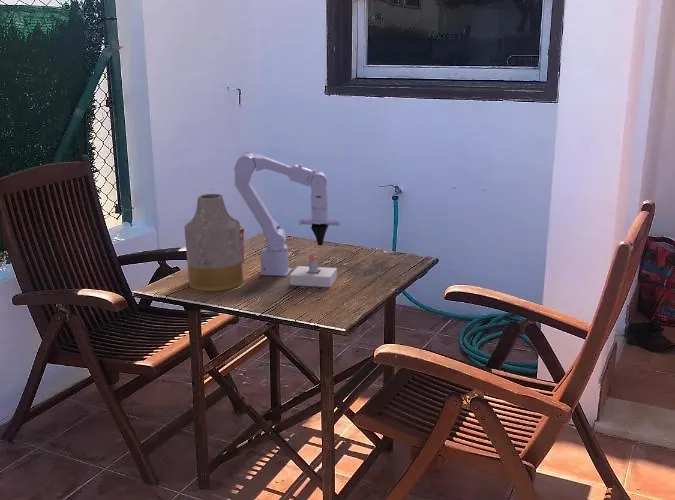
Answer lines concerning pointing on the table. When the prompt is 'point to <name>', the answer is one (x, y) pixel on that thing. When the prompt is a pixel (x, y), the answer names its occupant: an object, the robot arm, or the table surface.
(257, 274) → the table surface
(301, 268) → the block
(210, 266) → the vase
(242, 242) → the mug
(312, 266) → the pin
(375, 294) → the table surface
